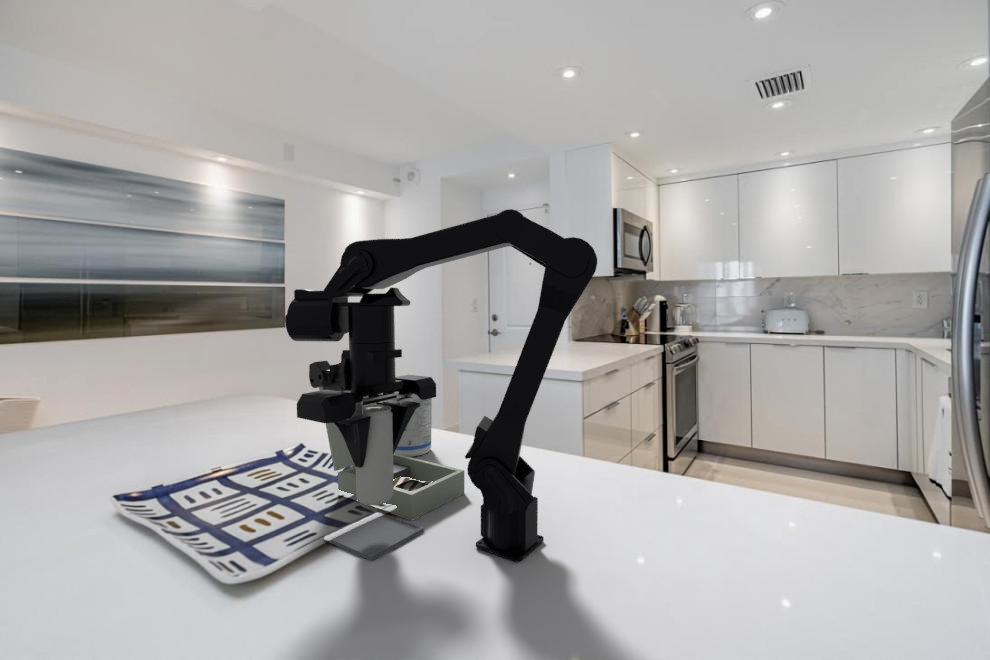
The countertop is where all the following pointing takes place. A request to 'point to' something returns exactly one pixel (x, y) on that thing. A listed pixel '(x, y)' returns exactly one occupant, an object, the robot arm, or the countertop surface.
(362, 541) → the pad
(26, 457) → the countertop surface
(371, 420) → the beverage can
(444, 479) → the case
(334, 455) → the lid
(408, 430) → the supplement tub
